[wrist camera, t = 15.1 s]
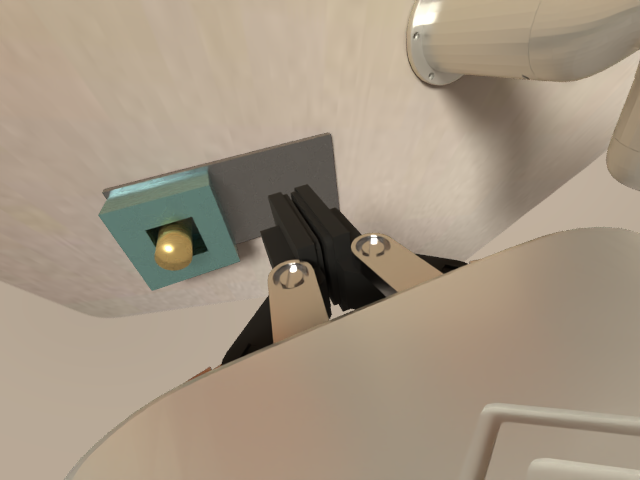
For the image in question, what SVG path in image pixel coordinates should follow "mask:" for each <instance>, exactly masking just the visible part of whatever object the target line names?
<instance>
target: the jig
mask: <svg viewBox="0 0 640 480" xmlns="http://www.w3.org/2000/svg"><path fill="white" fill-rule="evenodd" d="M306 184H308V185H309V186H310V187H311V189H312V190H313V191H314V192H315V193H316V194H317V195H318V197H319V198H320V199H321V200H322V201H323V202H324V203H325V204H326V206H327V207H328V208H329V209H331V208H335V207H336V208H337V209H338V210H339V203H338V194H337V185H336V175H335V166H334V157H333V148H332V139H331V134H330V133H324V134H320V135H316V136H312V137H308V138H304V139H300V140H296V141H292V142H288V143H284V144H280V145H276V146H272V147H268V148H265V149H261V150H257V151H253V152H249V153H245V154H241V155H237V156H233V157H229V158H225V159H221V160H217V161H213V162H209V163H205V164H202V165H198V166H194V167H190V168H186V169H182V170H178V171H174V172H170V173H166V174H162V175H158V176H154V177H150V178H146V179H142V180H139V181H135V182H131V183H127V184H123V185H119V186H115V187H111V188H107V189H104V190H103V192H102V193H103V195H104V196H105V198H106V199H107V201H106V202H105V204H104V206H103V208H102V209H101V211H100V213H99V215H98V216H99V217H100V218H101V220H102V221H103V223H104V224H105V225H106V227H107V228H108V230H109V231H110V232H111V234H112V235H113V237H114V238H115V239H116V241H117V242H118V244H119V245H120V247H121V248H122V249H123V251H124V252H125V254H126V255H127V256H128V258H129V259H130V261H131V262H132V263H133V265H134V266H135V268H136V269H137V271H138V272H139V273H140V275H141V276H142V278H143V279H144V280H145V282H146V283H147V285H148V286H149V287H150V289H151V290H152V291H153V290H156V289H159V288H162V287H165V286H168V285H171V284H174V283H177V282H180V281H183V280H186V279H189V278H192V277H195V276H198V275H201V274H204V273H207V272H210V271H213V270H216V269H219V268H222V267H225V266H228V265H231V264H234V263H237V262H239V261H240V259H239V255H238V250H237V246H236V244H238V243H241V242H245V241H248V240H251V239H254V238H257V237H260V236H261V233H260V231H262V230H265V229H268V228H271V227H274V226H276V225H275V222H274V218H273V214H272V211H271V207H270V203H269V200H268V195H271V194H275V193H278V192H281V193H282V194H283V195H284V194H288V196H289V197H290V199H291V192H294V188H295V187H299V186H302V185H306ZM291 200H292V199H291ZM189 217H191V218H192V261H191V263H190V264H189V265H188V266H187V267H185V268H183V269H181V270H176V271H171V270H166V269H163V268H162V267H160V266H159V265H158V264H157V263H156V261H155V250H156V245H157V239H158V234H159V228H160V226H162V225H165V224H169V223H172V222H176V221H179V220H182V219H186V218H189Z"/></svg>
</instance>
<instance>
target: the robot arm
mask: <svg viewBox="0 0 640 480" xmlns="http://www.w3.org/2000/svg"><path fill="white" fill-rule="evenodd" d="M639 49H640V0H416V1H415V3H414V6H413V9H412V11H411V14H410V18H409V23H408V28H407V53H408V57H409V62H410V64H411V66H412V69H413V71H414V72H415V73H416V75H417V76H418V77H419V78H420V79H421V80H422V81H424V82H426V83H428V84H433V85H446V84H450V83H452V82H454V81H456V80H458V79H459V78H461V77H462V76H463V75H477V76H489V77H501V78H513V79H525V80H537V81H552V82H570V81H577V80H580V79H584V78H588V77H590V76H593V75H595V74H597V73H599V72H602V71H604V70H606V69H607V68H609V67H611V66H613V65H615V64H617V63H618V62H620V61H621V60H623V59H625V58H626V57H628V56H630V55H631V54H633V53H635V52H636V51H638V50H639ZM606 163H607V168H608V170H609V172H610V174H611V175H612V176H613V178H615V179H616V180H617V181H618V182H620V183H621V184H623V185H625V186H627V187H630V188H632V189H635V190H638V191H640V61H639V64H638V67H637V70H636V73H635V79H634V81H633V84H632V86H631V89H630V91H629V94H628V97H627V99H626V102H625V104H624V107H623V109H622V112H621V114H620V117H619V120H618V122H617V125H616V127H615V130H614V133H613V136H612V138H611V141H610V144H609V147H608V151H607V157H606ZM291 199H292V200H291ZM291 199H290V197H289V196H288V194H284V195H283V194H282V193H281V192H278V193H275V194H271V195H268V200H269V203H270V207H271V211H272V214H273V218H274V222H275V225H276V226H274V227H271V228H268V229H265V230H262V231H260V233H261V236H262V240H263V243H264V246H265V249H266V252H267V255H268V258H269V261H270V264H271V266H272V270H271V272H270V274H269V275H268V291H269V295H268V297H267V298H266V300H265V301H264V302H263V304H262V305H261V306H260V308H259V309H258V311H257V312H256V313H255V315H254V316H253V317H252V319H251V320H250V321H249V323H248V324H247V326H246V327H245V328H244V330H243V331H242V332H241V334H240V335H239V336H238V338H237V339H236V341H235V342H234V344H233V345H232V346H231V347H230V349H229V350H228V351H227V353H226V355H225V357H224V358H223V361H222V364H221V365H219V366H218V367H216V368H214V369H213V370H212V368H211V367H208V368H207V369H205V370H204V371H202V372H200V373H199V374H197V375H196V376H194V377H192V378H191V379H189V380H188V381H186V382H185V383H183V384H181V385H179V386H178V387H176V388H174V389H172V390H170V391H168V392H167V393H164V394H163V395H161V396H159V397H157V398H156V399H154V400H153V401H151V402H150V403H148V404H147V405H145V406H144V407H142V408H140V409H139V410H137V411H136V412H134V413H133V414H131V415H130V416H129V417H128V418H126V419H125V420H124V421H123V422H121V423H120V424H119V425H117V426H116V427H115V428H114V429H112V430H111V431H110V432H108V433H107V434H106V435H105V436H104V437H103V438H102V439H100V440H99V441H98V442H97V443H96V444H95V445H94V446H93V447H92V448H91V449H90V450H89V451H88V452H87V453H86V454H85V455H84V456H83V457H82V458H81V459H80V460H79V461H78V462H77V464H76V465H75V466H74V467H73V468H72V470H71V471H70V472H69V473H68V475H67V476H66V478H65V479H64V480H640V233H638V232H634V231H631V230H627V229H622V228H612V227H592V228H578V229H572V230H566V231H561V232H556V233H553V234H549V235H545V236H542V237H539V238H536V239H533V240H530V241H528V242H525V243H522V244H519V245H516V246H514V247H511V248H508V249H505V250H503V251H500V252H498V253H495V254H493V255H490V256H488V257H485V258H482V259H479V260H473V261H470V262H469V264H467V263H465V262H461V261H458V260H452V259H445V258H439V257H433V256H426V255H420V254H414V253H412V252H411V251H410V250H408V249H407V248H405V247H404V246H402V245H401V244H399V243H398V242H396V241H395V240H393V239H392V238H391V237H389V236H387V235H384V234H380V233H367V234H363V235H361V234H360V232H359V231H358V230H357V229H356V228H355V227H354V226H353V225H352V224H351V223H350V222H349V221H348V220H347V218H346V217H345V216H344V215H343V214H342V213H341V212H340V211H339V210H338V209H337V208H336V207H335V208H331V209H329V208H328V207H327V206H326V204H325V203H324V202H323V201H322V200H321V199H320V198H319V197H318V195H317V194H316V193H315V192H314V191H313V190H312V189H311V187H310V186H309V185H308V184H306V185H302V186H299V187H295V188H294V192H291ZM329 297H330V298H329ZM330 299H331V301H332V303H333V304H334V305H337V304H339V306H340V307H341V309H342V311H346V310H348V309H355V310H354V311H351V312H349V313H346V314H344V315H342V316H339V317H337V318H334V319H332V320H329V319H330V317H331V315H332V314H331V308H330V307H331V304H330Z"/></svg>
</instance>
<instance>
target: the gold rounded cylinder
mask: <svg viewBox="0 0 640 480" xmlns="http://www.w3.org/2000/svg"><path fill="white" fill-rule="evenodd" d="M155 261H156V263H157V264H158V265H159V266H160V267H162V268H163V269H166V270H171V271H176V270H181V269H183V268H185V267H187V266H188V265H189V264H190V263H191V261H192V218H191V217H189V218H186V219H182V220H179V221H176V222H172V223H169V224H165V225H162V226H160V228H159V234H158V239H157V245H156V250H155Z"/></svg>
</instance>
